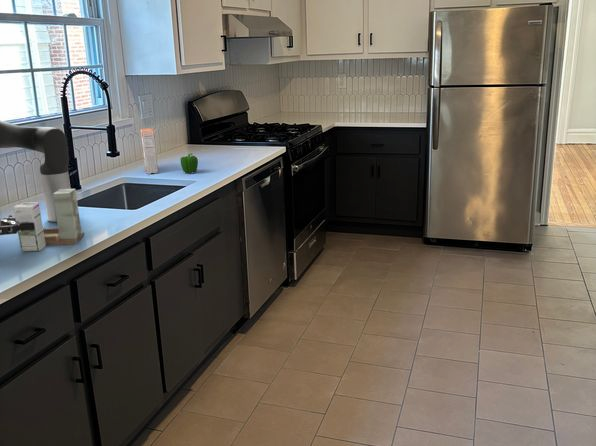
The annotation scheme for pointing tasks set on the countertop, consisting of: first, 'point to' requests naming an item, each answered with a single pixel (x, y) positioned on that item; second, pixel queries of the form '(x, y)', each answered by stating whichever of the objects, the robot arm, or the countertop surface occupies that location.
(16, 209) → the syrup box
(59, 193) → the wooden tray with block
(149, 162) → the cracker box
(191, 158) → the bell pepper
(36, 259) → the countertop surface
